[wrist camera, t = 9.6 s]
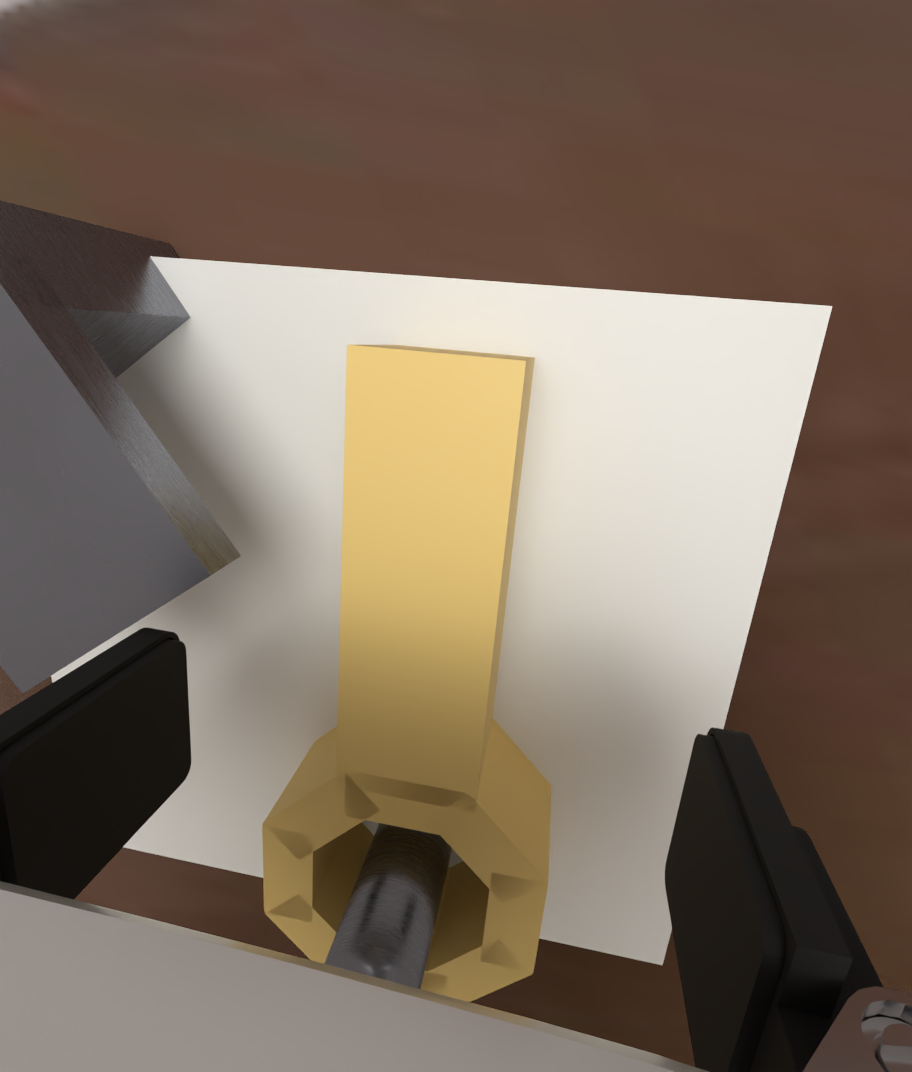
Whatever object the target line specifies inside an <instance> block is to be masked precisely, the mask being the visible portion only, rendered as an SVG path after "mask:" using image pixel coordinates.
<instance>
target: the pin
mask: <svg viewBox="0 0 912 1072" xmlns="http://www.w3.org/2000/svg"><path fill="white" fill-rule="evenodd" d="M451 852H452V847H451V846H450V845H449V844H448V843H447V842H446V841H445V840H444V839H443V838H442V837H441V835H437V834H432V833H427V832H422V831H417V830H412V829H407V828H402V827H397V826H392V825H387V824H382V823H379V825H378V827H377V830H376V832H375V835H374V837H373V840H372V843H371V845H370V848H369V850H368V853H367V855H366V858H365V861H364V863H363V866H362V868H361V871H360V873H359V876H358V879H357V881H356V884H355V886H354V889H353V891H352V894H351V897H350V899H349V902H348V904H347V907H346V909H345V912H344V914H343V917H342V920H341V922H340V925H339V927H338V930H337V932H336V935H335V938H334V940H333V943H332V945H331V948H330V950H329V953H328V956H327V958H326V961H325V963H324V964H327V965H331V966H335V967H338V968H342V969H346V970H350V971H354V972H358V973H361V974H365V975H369V976H373V977H376V978H380V979H384V980H388V981H391V982H395V983H399V984H403V985H406V986H410V987H414V988H418V989H421V985H422V981H423V976H424V972H425V967H426V963H427V958H428V954H429V950H430V945H431V941H432V936H433V932H434V927H435V923H436V918H437V914H438V910H439V905H440V901H441V896H442V892H443V887H444V883H445V878H446V874H447V870H448V865H449V861H450V856H451Z"/></svg>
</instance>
